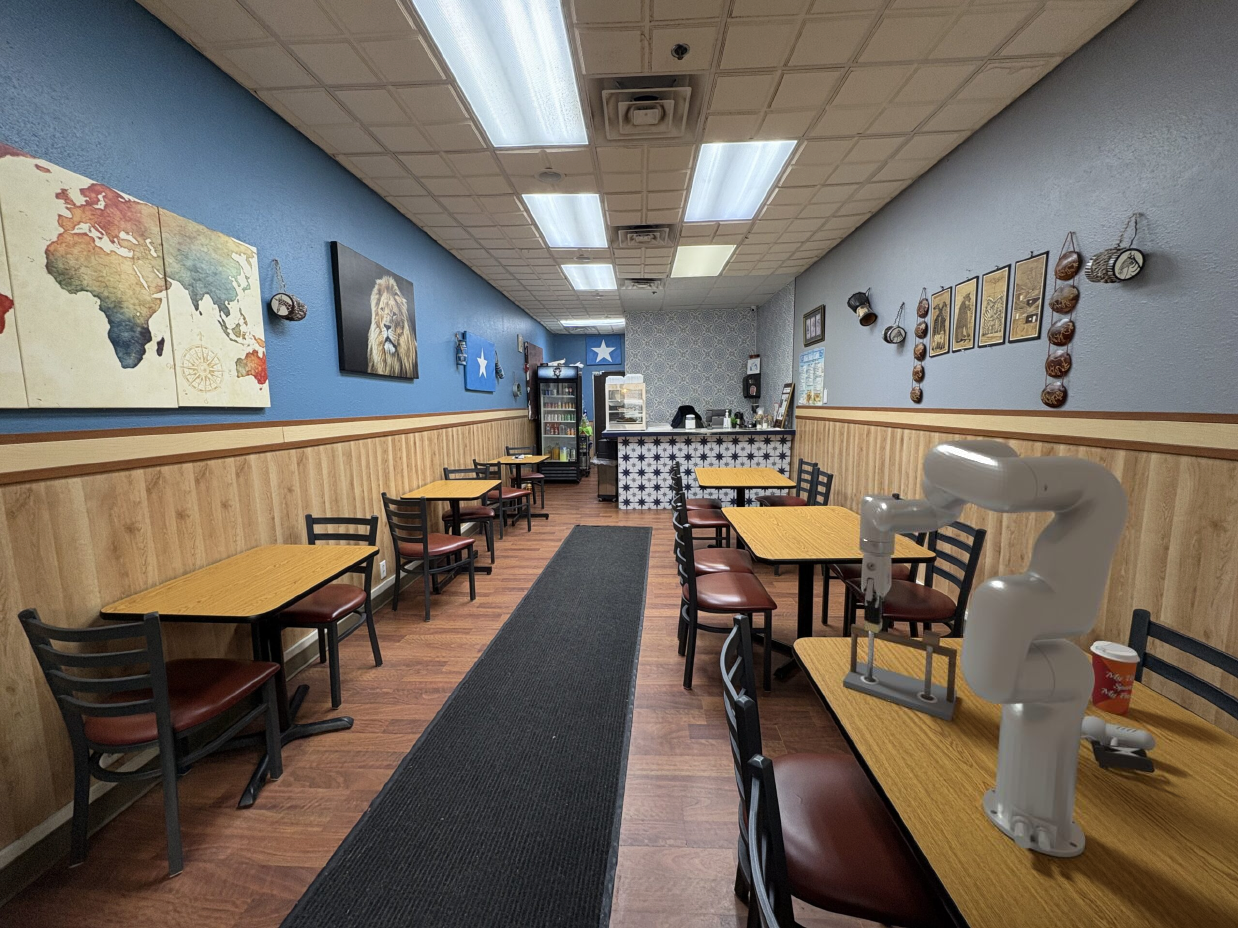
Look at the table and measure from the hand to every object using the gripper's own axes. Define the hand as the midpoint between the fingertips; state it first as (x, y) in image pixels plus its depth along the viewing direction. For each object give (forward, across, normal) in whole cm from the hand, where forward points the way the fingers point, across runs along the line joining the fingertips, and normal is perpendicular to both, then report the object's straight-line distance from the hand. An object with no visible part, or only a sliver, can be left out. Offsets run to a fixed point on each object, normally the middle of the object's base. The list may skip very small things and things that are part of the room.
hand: (873, 617), depth 118 cm
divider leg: (+15, 0, 0) cm, 15 cm away
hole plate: (+17, 0, -6) cm, 18 cm away
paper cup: (+17, +22, -44) cm, 52 cm away
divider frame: (+15, 0, -6) cm, 16 cm away
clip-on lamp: (+17, +1, -39) cm, 42 cm away
